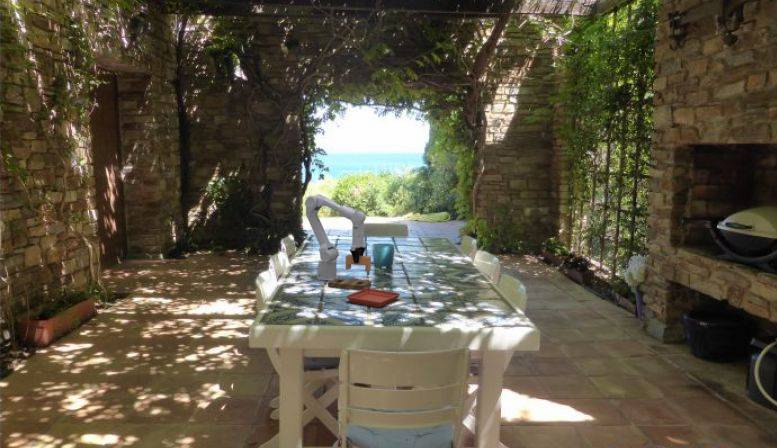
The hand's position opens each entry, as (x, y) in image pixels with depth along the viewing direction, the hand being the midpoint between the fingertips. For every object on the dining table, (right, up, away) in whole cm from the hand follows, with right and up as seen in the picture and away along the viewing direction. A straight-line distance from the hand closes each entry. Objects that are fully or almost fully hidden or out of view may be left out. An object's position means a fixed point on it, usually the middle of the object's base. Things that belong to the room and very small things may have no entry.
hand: (357, 262), depth 278 cm
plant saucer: (+9, -16, -33) cm, 37 cm away
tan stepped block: (0, -4, 0) cm, 4 cm away
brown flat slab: (-3, -11, -9) cm, 15 cm away
